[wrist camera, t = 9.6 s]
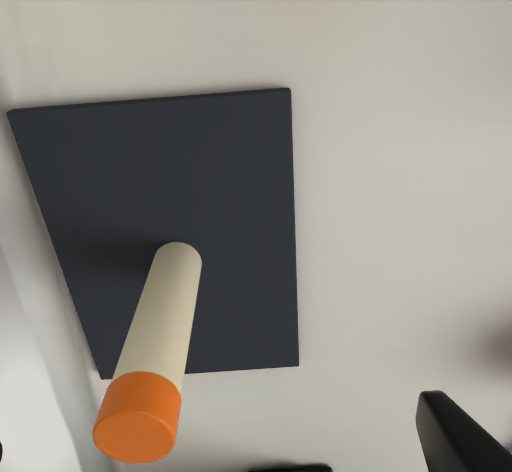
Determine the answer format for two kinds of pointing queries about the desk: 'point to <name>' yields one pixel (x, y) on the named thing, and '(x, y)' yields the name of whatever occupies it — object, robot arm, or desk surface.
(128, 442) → the glue stick
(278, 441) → the desk surface
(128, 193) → the mat
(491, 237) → the desk surface
